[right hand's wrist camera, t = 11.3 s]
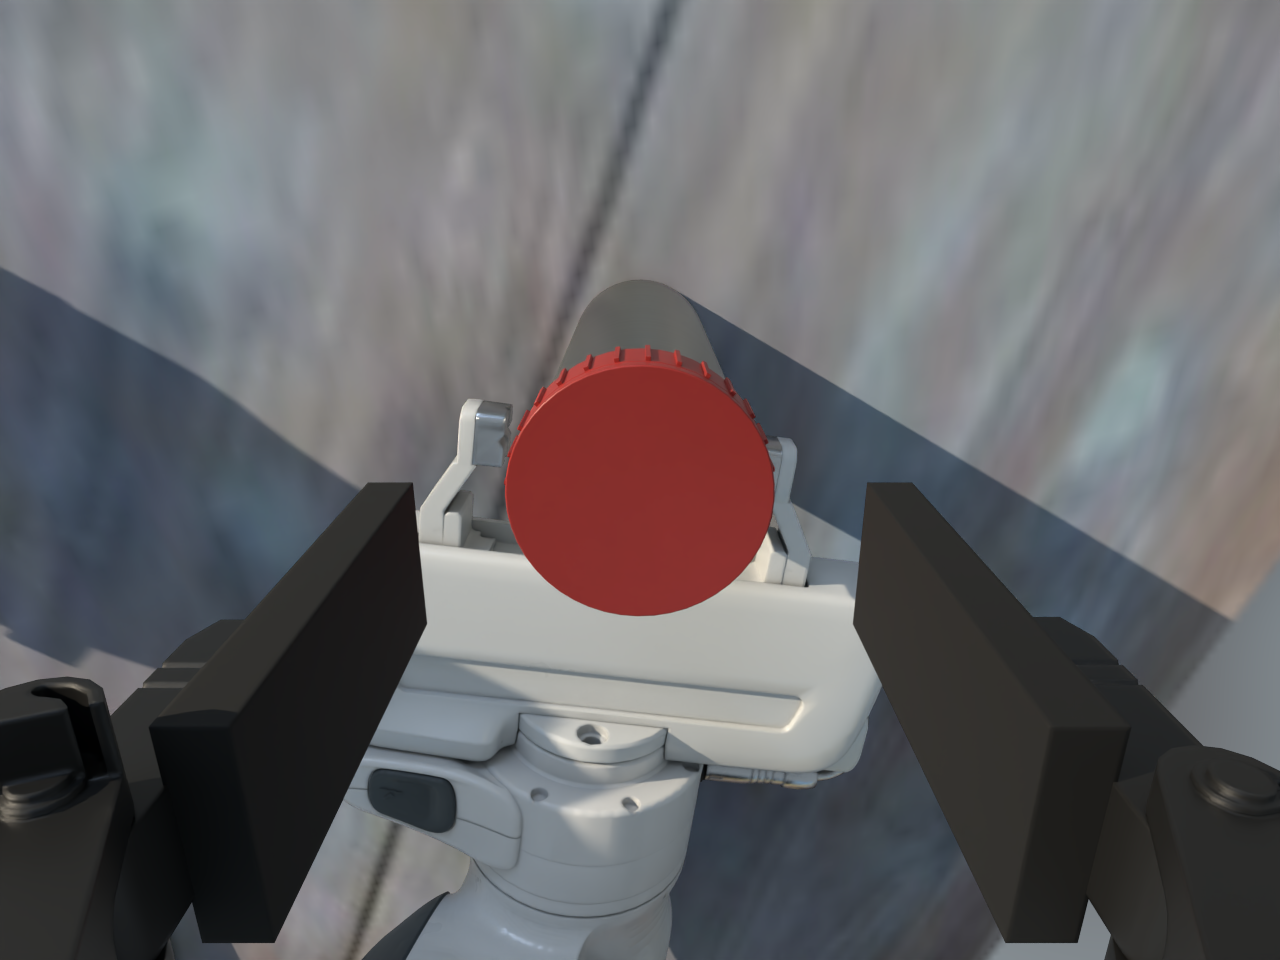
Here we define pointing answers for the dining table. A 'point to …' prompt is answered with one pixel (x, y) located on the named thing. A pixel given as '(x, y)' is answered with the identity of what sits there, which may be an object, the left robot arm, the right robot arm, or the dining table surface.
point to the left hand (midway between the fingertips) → (631, 422)
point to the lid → (640, 483)
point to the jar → (640, 325)
